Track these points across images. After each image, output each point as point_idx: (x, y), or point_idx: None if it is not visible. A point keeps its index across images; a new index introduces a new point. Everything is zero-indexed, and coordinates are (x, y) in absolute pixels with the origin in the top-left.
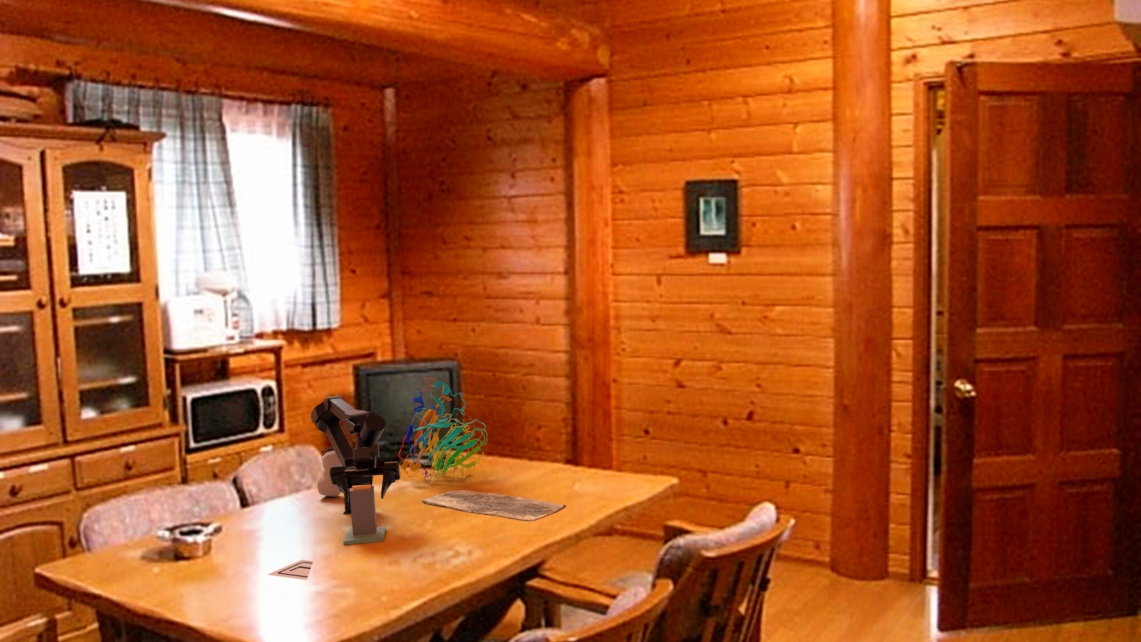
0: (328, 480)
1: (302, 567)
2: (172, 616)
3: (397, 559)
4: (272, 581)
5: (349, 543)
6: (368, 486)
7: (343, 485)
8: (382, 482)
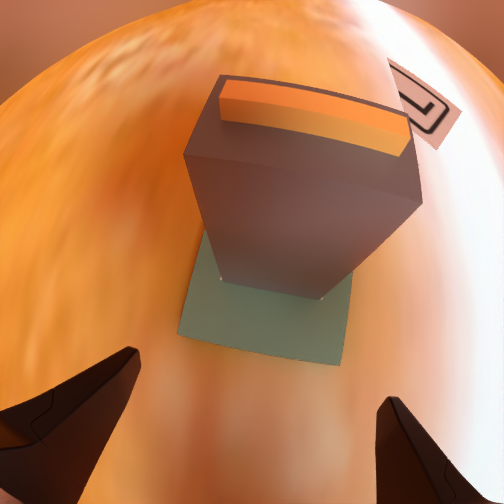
0: None
1: (417, 106)
2: (485, 67)
3: (219, 62)
4: (438, 81)
5: None
6: (250, 89)
7: (455, 479)
8: (59, 421)
